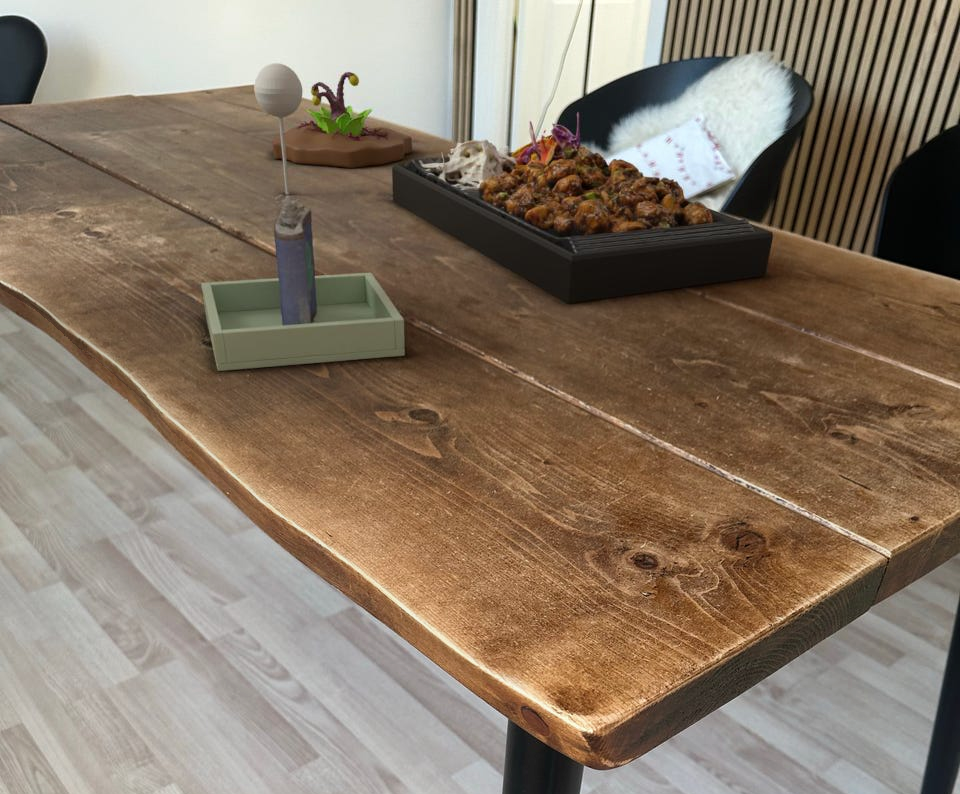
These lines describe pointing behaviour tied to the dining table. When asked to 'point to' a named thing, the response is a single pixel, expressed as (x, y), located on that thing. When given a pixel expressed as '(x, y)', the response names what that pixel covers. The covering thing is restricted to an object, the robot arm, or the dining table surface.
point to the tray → (330, 337)
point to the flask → (295, 262)
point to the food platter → (578, 219)
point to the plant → (340, 135)
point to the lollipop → (279, 97)
